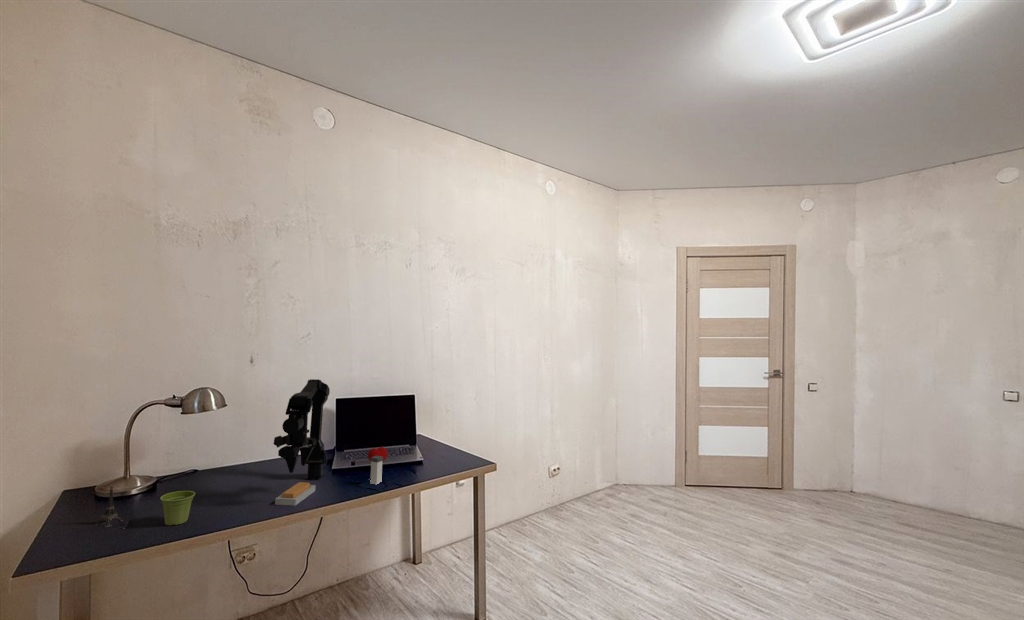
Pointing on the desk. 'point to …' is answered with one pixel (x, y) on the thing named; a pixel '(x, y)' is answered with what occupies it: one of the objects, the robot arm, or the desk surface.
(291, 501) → the button housing
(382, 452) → the red heart figurine
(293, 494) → the button
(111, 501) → the eiffel tower figurine
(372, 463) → the white tall block
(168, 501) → the plant pot
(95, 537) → the desk surface
